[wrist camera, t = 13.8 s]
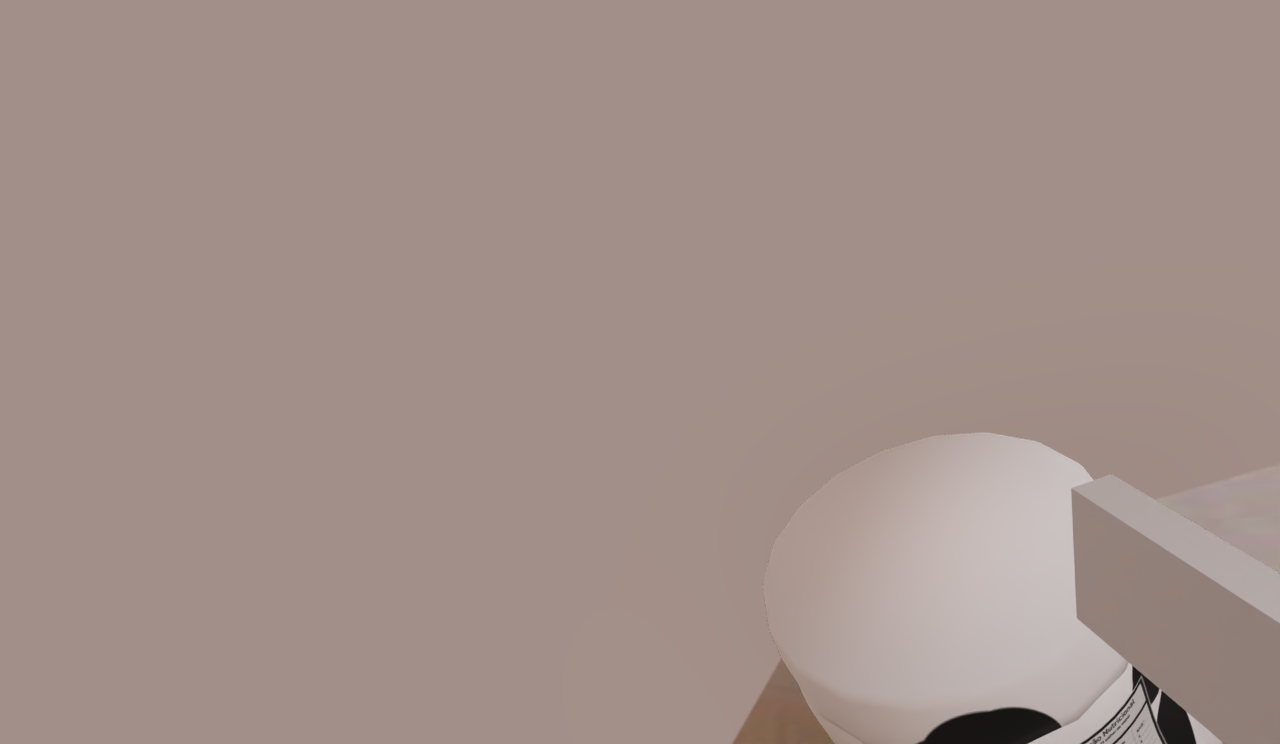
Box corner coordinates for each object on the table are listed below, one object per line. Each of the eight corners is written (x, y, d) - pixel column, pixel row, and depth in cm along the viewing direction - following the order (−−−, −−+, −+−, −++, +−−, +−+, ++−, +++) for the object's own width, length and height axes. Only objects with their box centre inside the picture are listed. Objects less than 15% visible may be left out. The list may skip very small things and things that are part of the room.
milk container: (911, 642, 54) (801, 436, 47) (1232, 660, 43) (1154, 395, 36) (842, 920, 42) (681, 701, 35) (1260, 1041, 31) (1152, 760, 24)
